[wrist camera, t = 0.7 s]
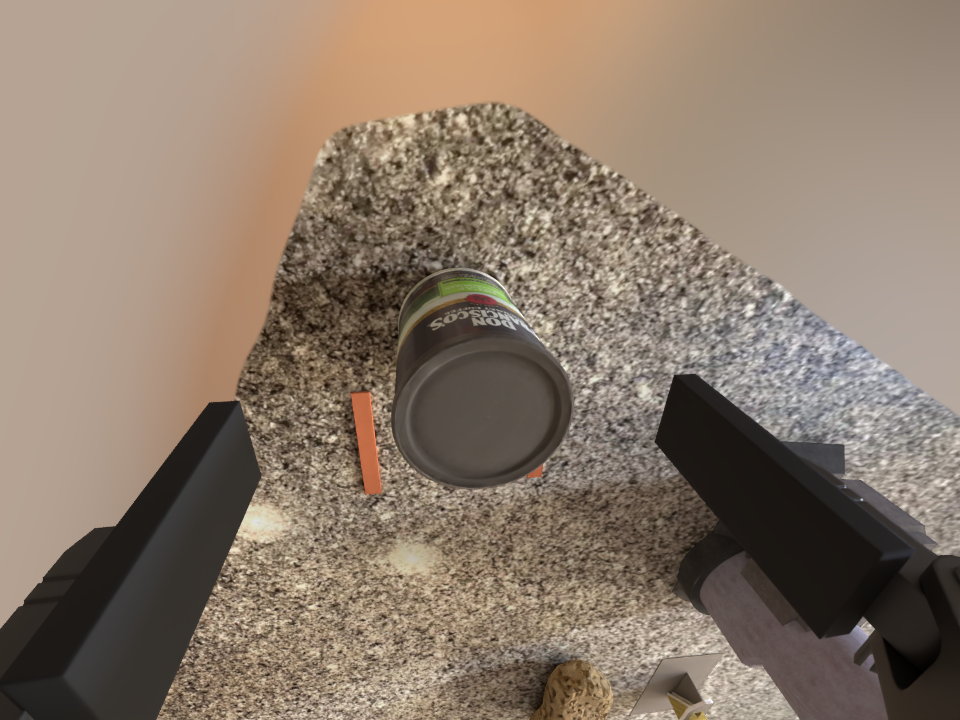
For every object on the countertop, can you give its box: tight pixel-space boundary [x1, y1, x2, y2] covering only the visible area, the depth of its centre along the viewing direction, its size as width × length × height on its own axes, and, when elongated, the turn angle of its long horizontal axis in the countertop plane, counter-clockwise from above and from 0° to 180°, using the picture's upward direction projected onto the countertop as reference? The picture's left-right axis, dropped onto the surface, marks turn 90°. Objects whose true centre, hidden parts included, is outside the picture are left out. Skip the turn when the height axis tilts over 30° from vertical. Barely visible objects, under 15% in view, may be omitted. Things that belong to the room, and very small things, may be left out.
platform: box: [630, 653, 724, 720], centre depth 70 cm, size 12×18×7 cm, turn 171°
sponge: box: [530, 659, 613, 720], centre depth 63 cm, size 13×8×20 cm
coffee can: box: [391, 268, 574, 490], centre depth 29 cm, size 10×10×14 cm
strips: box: [351, 391, 543, 495], centre depth 40 cm, size 12×19×1 cm, turn 89°
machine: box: [673, 441, 937, 720], centre depth 45 cm, size 30×16×24 cm, turn 169°
